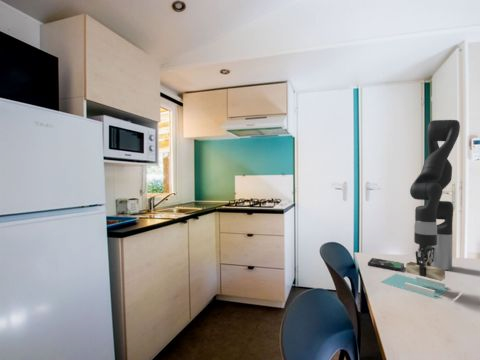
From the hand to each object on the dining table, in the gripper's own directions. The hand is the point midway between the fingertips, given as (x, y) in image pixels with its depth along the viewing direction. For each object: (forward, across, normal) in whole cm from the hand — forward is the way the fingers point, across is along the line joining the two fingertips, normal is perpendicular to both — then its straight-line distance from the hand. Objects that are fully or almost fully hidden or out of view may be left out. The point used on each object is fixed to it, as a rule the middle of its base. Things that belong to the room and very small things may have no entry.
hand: (425, 274), depth 109 cm
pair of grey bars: (+6, 0, 0) cm, 6 cm away
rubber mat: (+6, 0, +4) cm, 7 cm away
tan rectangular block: (0, 0, 0) cm, 0 cm away
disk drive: (+7, +16, +22) cm, 28 cm away
